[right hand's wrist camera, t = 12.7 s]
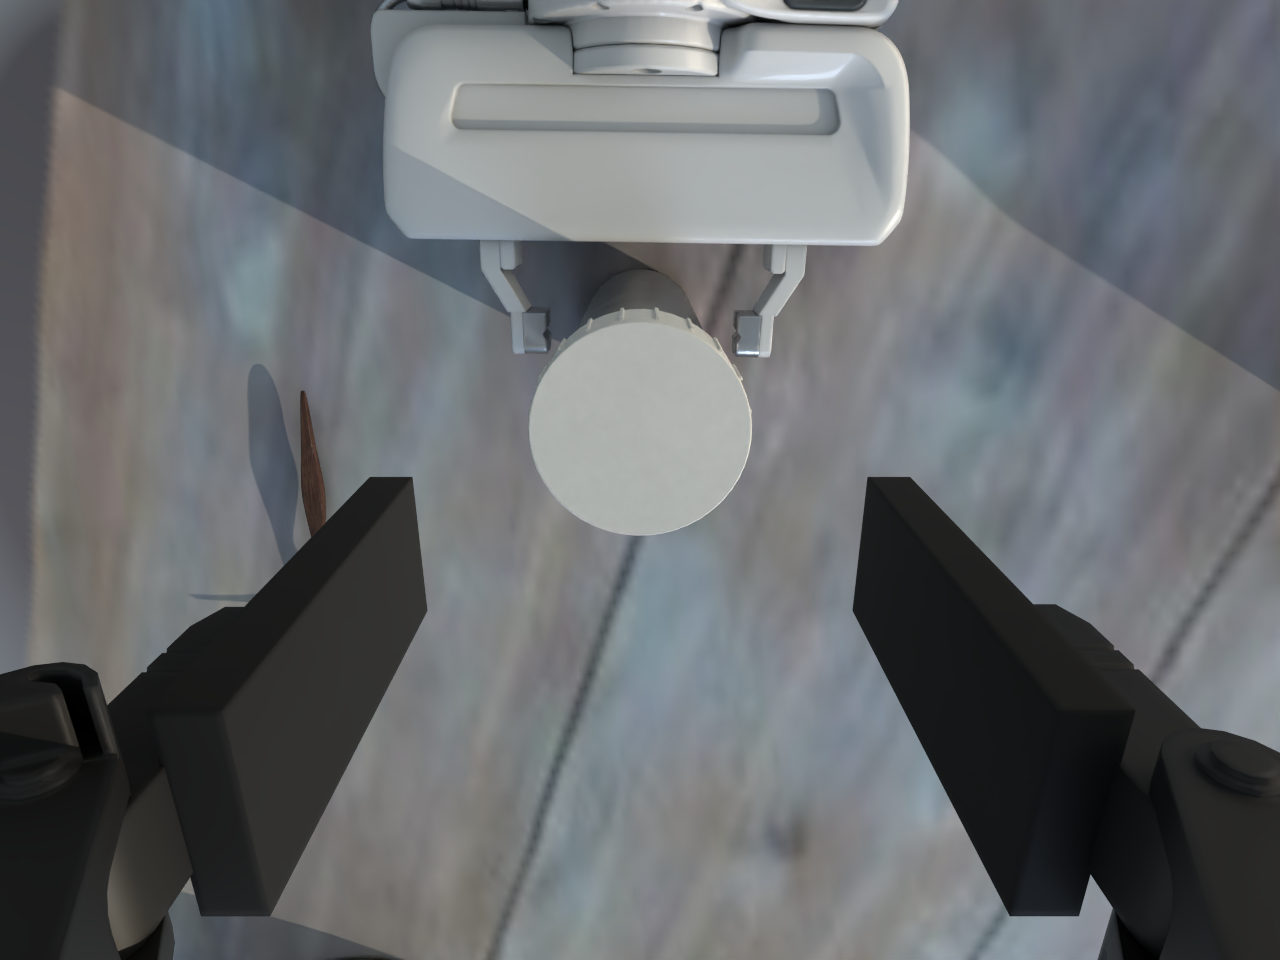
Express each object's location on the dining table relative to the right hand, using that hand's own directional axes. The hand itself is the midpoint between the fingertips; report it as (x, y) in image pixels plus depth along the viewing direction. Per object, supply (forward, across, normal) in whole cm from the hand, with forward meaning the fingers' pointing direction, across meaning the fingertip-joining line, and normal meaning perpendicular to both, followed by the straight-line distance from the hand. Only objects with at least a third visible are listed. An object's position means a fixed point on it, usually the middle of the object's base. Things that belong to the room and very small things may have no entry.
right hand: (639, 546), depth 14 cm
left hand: (+20, 0, 0) cm, 20 cm away
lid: (+7, 0, 0) cm, 7 cm away
